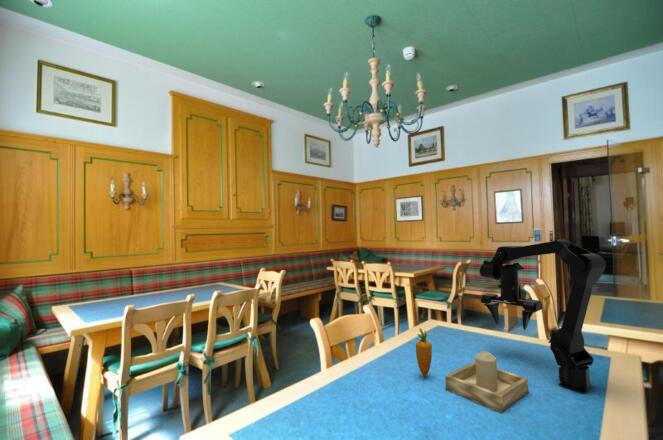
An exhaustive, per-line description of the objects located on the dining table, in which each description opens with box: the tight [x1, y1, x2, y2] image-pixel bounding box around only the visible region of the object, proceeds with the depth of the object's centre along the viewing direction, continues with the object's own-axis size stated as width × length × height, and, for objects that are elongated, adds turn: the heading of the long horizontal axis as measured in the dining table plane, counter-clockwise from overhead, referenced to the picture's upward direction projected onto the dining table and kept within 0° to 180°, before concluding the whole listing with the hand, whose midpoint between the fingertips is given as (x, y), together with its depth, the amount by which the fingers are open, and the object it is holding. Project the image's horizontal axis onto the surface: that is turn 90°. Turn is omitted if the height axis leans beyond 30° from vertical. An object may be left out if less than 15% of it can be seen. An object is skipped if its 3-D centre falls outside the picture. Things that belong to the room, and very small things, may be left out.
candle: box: [474, 350, 498, 392], centre depth 95 cm, size 6×6×10 cm
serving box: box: [445, 360, 530, 414], centre depth 95 cm, size 16×16×4 cm
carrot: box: [415, 327, 433, 378], centre depth 105 cm, size 5×5×15 cm
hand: (510, 326), depth 116 cm, fingers open, 9 cm apart
